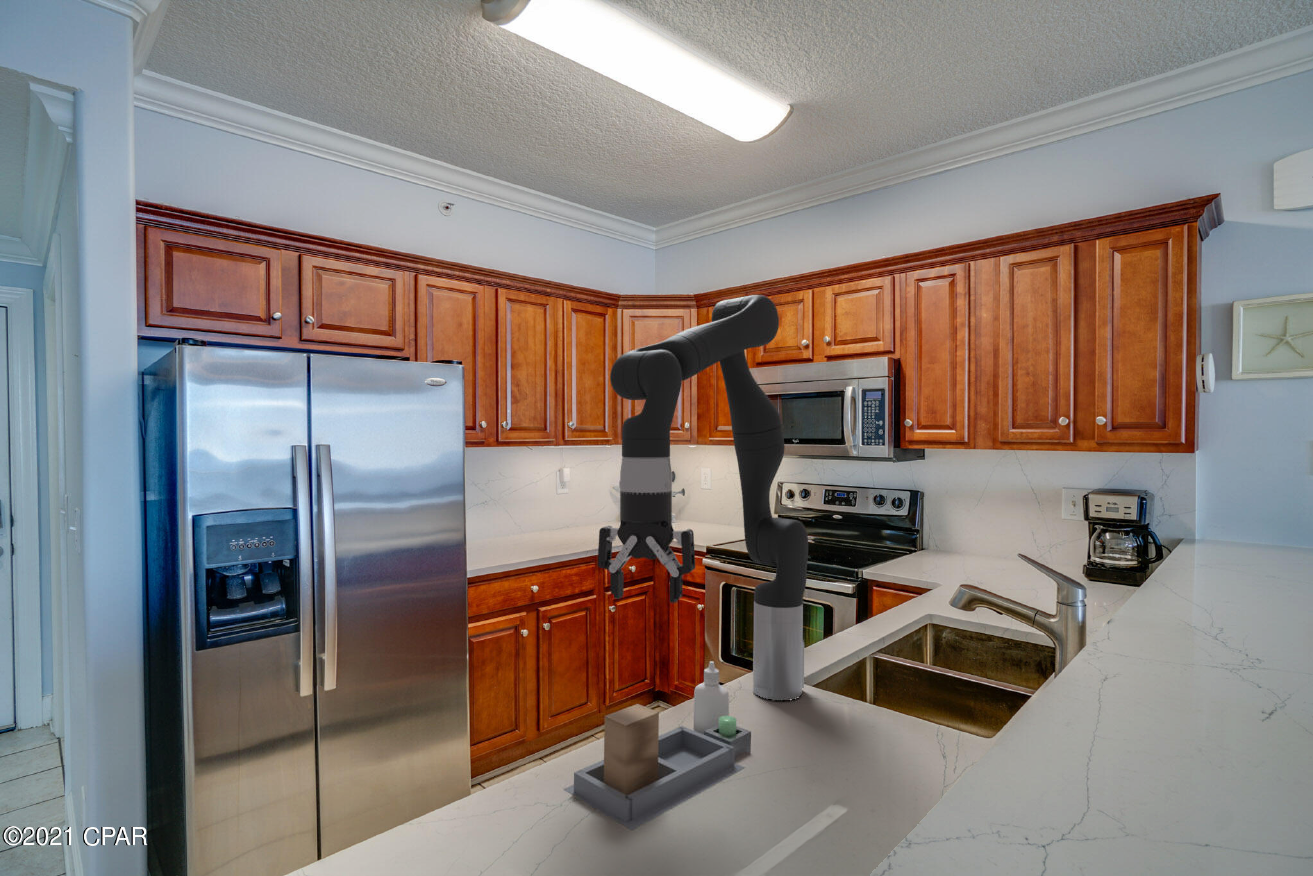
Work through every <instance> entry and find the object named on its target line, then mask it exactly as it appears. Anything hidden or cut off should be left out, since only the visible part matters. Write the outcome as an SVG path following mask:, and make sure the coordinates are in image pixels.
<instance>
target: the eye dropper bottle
mask: <svg viewBox="0 0 1313 876" xmlns="http://www.w3.org/2000/svg"><path fill="white" fill-rule="evenodd" d="M693 690H694V694H693V731H696V732H698V733H701V734H703V735H704V731H705V730H707V729H710V728H712V727H714V726H716V725H718V724H719V718H720V717H722V716H730V714H729V713H730V711H729V710H730V709H729V708H730V707H729V706H730V694H729V692H728V689H726V688H725V687H724V686H722V685H721V684H720V670H719V669H718V668H716V666H715V662H714V661H713V660H712V661H709V663H708V666H707V668H705V669H704V670H703V682H702V683H699V684H698V685H696V686H695V688H694V689H693Z"/></svg>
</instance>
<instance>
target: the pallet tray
mask: <svg viewBox="0 0 1313 876" xmlns="http://www.w3.org/2000/svg"><path fill="white" fill-rule="evenodd" d="M743 769H745V767H744V766H743V765H740V764H738V763H736V762H735V757H734V747H733V746H730V745H728V744H725V743H723V742H720V741H718V740H715V739H713V738H711V737H708V736H706V735H703V734H701V733H698V732H696V731H694V729H691V728H689V727H686V726H683V725H681V726H679V727H676V728H675V729H672V730H669V731H668V732H665V733H662V734H661V735H659V736H658V781H656V782H654V783H652V784H650V785H648V786H646V787H644V788H642V789H640V790H638V791H636V792H634V793H632V794H630V795H628V796H626V795H624V794H623V793H621V792H619V791H617V790H615V789H614V788H612V787H610V786H608V785H606V784H605V783H604V759H603V760H599V761H598V762H596V763H593V764H591V765H589V766H586V767H584V768H582V769H579V770H577V771H574V772H573V784H572V785H569V786H568V787H565V788H563V790H564V791H565V792H567V793H569V794H570V795H572V796H573V797H576V798H577V799H578V800H581V801H582V802H584V803H585V804H587V805H588V806H591V807H592V808H594V809H596V810H597V811H599V812H601V813H602V814H604V815H606V816H607V817H609V818H610V819H612V820H614V821H616V822H617V823H619V824H621V825H622V826H624V827H625V828H627V829H629V830H631V831H633V830H635V829H637V828H638V827H640V826H642V825H644V824H646V823H647V822H650V821H651V820H653V819H655V818H657V817H658V816H660V815H662V814H664V813H666V812H667V811H670V810H671V809H673V808H675V807H677V806H679V805H680V804H682V803H684V802H685V801H687V800H689V799H691V798H693V797H694V796H697V795H699V794H700V793H702V792H703V791H704V792H705V791H706V790H707V789H709V788H711V787H712V786H715V785H716V784H718V783H720V782H722V781H724V780H725V779H727V778H730V777H731V776H733V775H734V774H736V773H739V772H740V771H742V770H743Z"/></svg>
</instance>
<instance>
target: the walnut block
mask: <svg viewBox="0 0 1313 876" xmlns="http://www.w3.org/2000/svg"><path fill="white" fill-rule="evenodd" d="M659 715H660V712H659V711H657V710H654V709H651V708H649V707H647V706H644V705H641V704H639V703H636V704H634V705H632V706H631V705H630V706H628V707H625V708H623V709H620V710H618V711H614V712H612V713H609V714H607V715H605V716H604V723H603V724H604V725H603V726H604V727H603V728H604V730H603V731H604V732H603V734H604V735H603V736H604V738H603V739H604V740H603V743H604V745H603V760H604V783H605V784H606V785H608V786H610V787H612V788H614V789H615V790H617V791H619V792H621V793H623V794H624V795H626V796H628V795H630V794H632V793H634V792H636V791H638V790H640V789H642V788H644V787H646V786H648V785H650V784H652V783H654V782H656V781H658V736H660V735H659V728H660V727H659V726H660V725H659V723H660V719H659V717H660V716H659Z"/></svg>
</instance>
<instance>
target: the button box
mask: <svg viewBox="0 0 1313 876" xmlns="http://www.w3.org/2000/svg"><path fill="white" fill-rule="evenodd" d="M704 735H706V736H708V737H711V738H713V739H715V740H718V741H720V742H723V743H725V744H728V745H730V746H733V747H734V758H736V757H737V756H740V755H741V754H743V753H747V754H748V755H751V753H752V748H751V747H752V744H751V743H752V731H750V730H748V729H745V728H743V727H740V726H737V725H736V735H734V736H732V737H730V738H728V737H726V736H723V735H721V734H719V724H718V725H716V726H714V727H712V728H710V729H707V730H705V731H704Z"/></svg>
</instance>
